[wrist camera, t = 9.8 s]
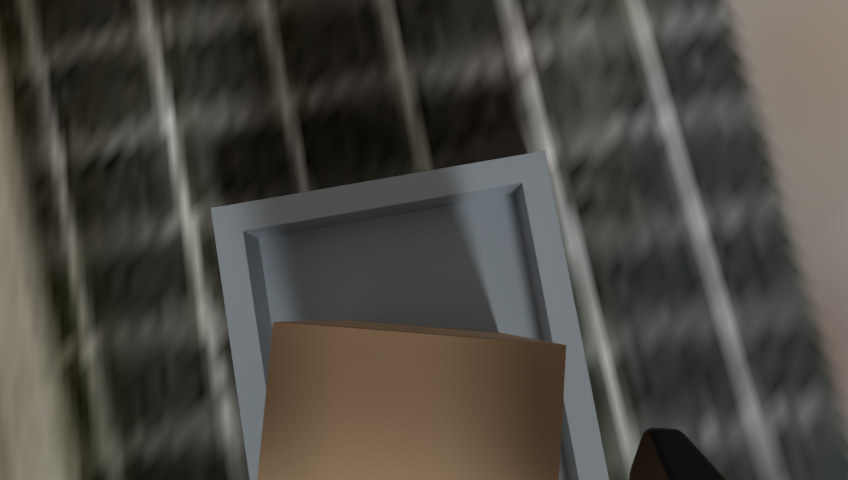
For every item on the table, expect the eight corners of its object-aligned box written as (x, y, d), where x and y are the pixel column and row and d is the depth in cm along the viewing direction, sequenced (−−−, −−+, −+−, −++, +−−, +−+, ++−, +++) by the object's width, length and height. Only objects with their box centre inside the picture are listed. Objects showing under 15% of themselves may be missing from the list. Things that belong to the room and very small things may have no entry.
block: (488, 484, 22) (548, 656, 11) (337, 472, 22) (242, 629, 11) (498, 332, 22) (565, 344, 11) (350, 320, 22) (272, 322, 11)
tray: (620, 624, 22) (644, 664, 19) (301, 681, 22) (285, 728, 19) (532, 168, 23) (544, 150, 21) (234, 220, 23) (210, 208, 21)
